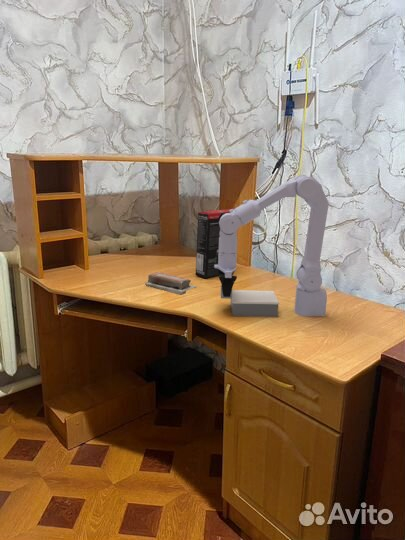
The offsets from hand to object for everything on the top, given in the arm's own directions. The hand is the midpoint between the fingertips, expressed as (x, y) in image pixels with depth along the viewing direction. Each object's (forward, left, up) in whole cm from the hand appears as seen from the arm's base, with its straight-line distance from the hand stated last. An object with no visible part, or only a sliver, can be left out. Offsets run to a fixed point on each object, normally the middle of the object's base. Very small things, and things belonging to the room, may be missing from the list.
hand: (226, 293), depth 135 cm
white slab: (-7, 0, -2) cm, 8 cm away
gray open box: (-9, 0, -6) cm, 11 cm away
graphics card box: (+2, -44, -7) cm, 45 cm away
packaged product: (+20, -25, -7) cm, 33 cm away
